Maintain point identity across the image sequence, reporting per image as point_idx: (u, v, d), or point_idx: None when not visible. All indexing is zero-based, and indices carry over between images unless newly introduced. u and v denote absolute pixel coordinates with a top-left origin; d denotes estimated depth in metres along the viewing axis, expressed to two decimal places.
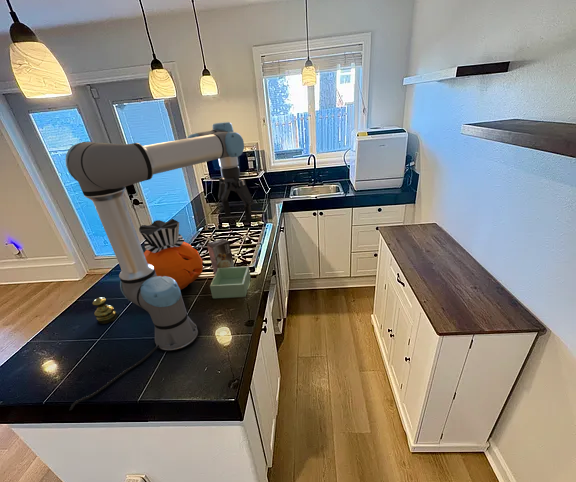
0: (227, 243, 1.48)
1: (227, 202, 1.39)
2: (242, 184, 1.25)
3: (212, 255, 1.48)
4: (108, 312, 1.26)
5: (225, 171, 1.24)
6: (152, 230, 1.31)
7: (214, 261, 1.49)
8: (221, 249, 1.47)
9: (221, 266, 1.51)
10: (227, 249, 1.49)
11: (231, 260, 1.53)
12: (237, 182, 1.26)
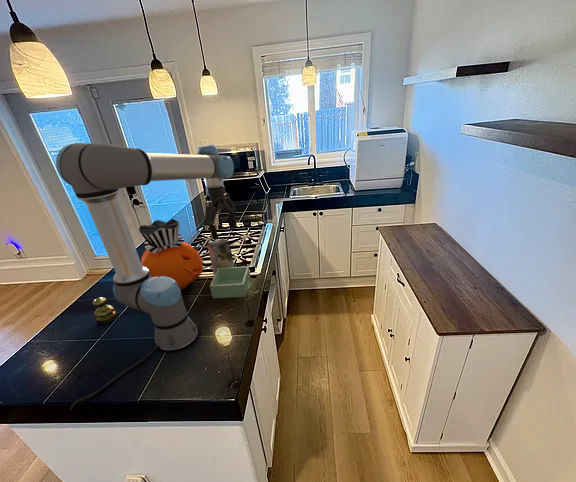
0: (227, 243, 1.48)
1: (231, 216, 1.45)
2: (206, 205, 1.31)
3: (212, 255, 1.48)
4: (108, 312, 1.26)
5: None
6: (152, 230, 1.31)
7: (214, 261, 1.49)
8: (221, 249, 1.47)
9: (221, 266, 1.51)
10: (227, 249, 1.49)
11: (231, 260, 1.53)
12: None
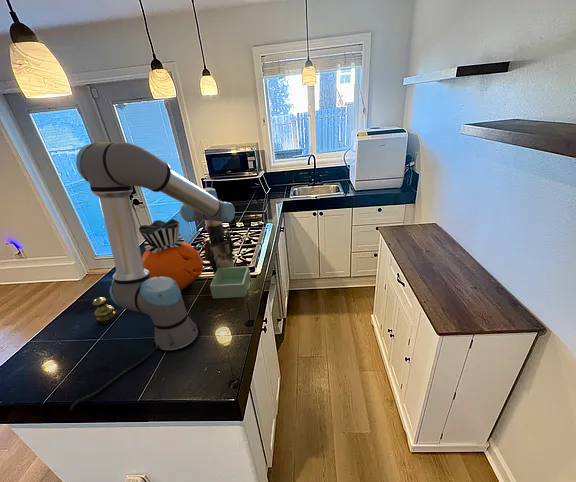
0: (227, 243, 1.48)
1: None
2: (204, 243, 1.43)
3: None
4: (108, 312, 1.26)
5: None
6: (152, 230, 1.31)
7: None
8: (221, 249, 1.47)
9: (221, 266, 1.51)
10: (227, 249, 1.49)
11: (231, 260, 1.53)
12: None
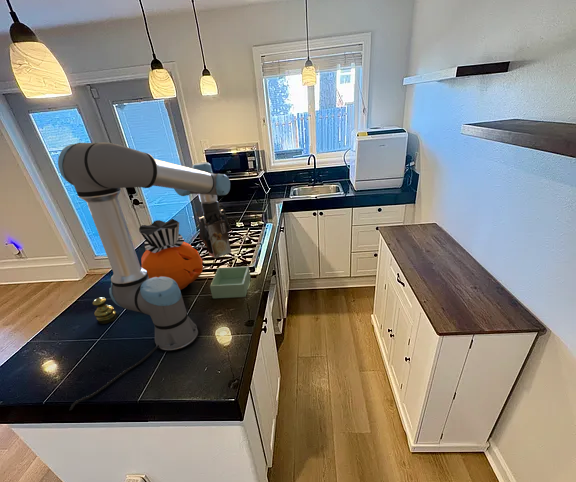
0: (223, 222, 1.42)
1: None
2: (199, 221, 1.37)
3: None
4: (108, 312, 1.26)
5: None
6: (152, 230, 1.31)
7: None
8: (216, 228, 1.41)
9: (216, 246, 1.45)
10: (222, 228, 1.43)
11: (227, 240, 1.47)
12: None
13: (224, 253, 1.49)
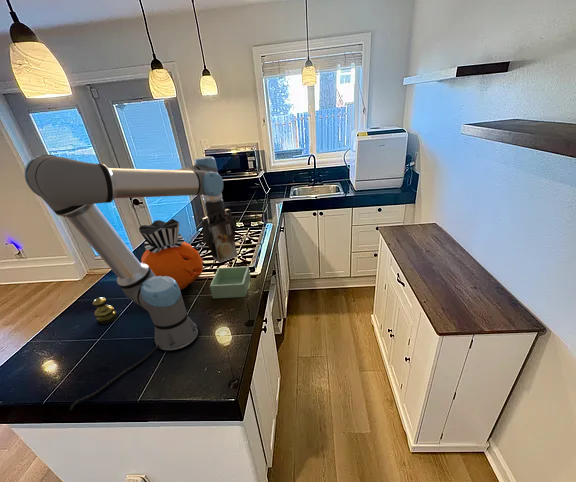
0: (228, 223, 1.28)
1: None
2: (202, 222, 1.24)
3: None
4: (108, 312, 1.26)
5: None
6: (152, 230, 1.31)
7: None
8: (221, 230, 1.28)
9: (221, 250, 1.31)
10: (228, 230, 1.29)
11: (233, 243, 1.33)
12: (207, 217, 1.25)
13: (230, 257, 1.35)
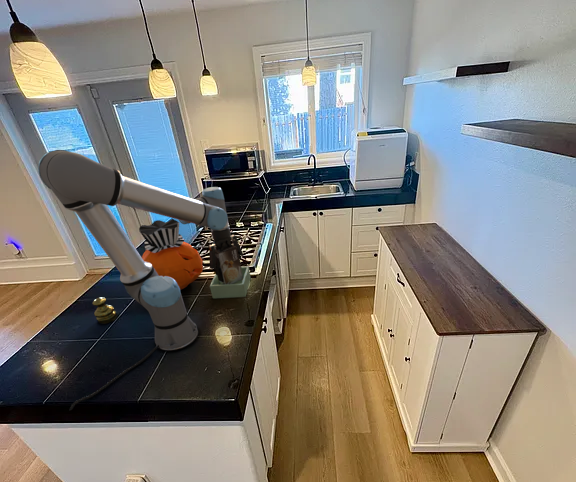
0: (234, 249, 1.32)
1: None
2: (209, 249, 1.28)
3: None
4: (108, 312, 1.26)
5: None
6: (152, 230, 1.31)
7: None
8: (228, 256, 1.32)
9: (228, 274, 1.35)
10: (234, 255, 1.33)
11: (239, 267, 1.37)
12: None
13: (236, 281, 1.39)
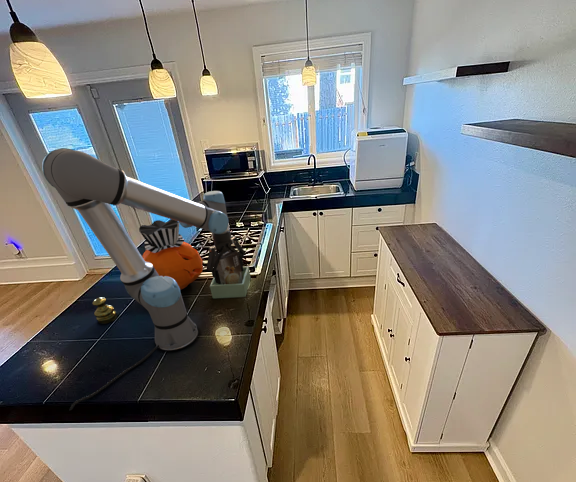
0: (236, 255, 1.34)
1: (239, 259, 1.40)
2: (209, 250, 1.28)
3: (219, 268, 1.34)
4: (108, 312, 1.26)
5: None
6: (152, 230, 1.31)
7: (221, 274, 1.35)
8: (229, 262, 1.33)
9: (229, 280, 1.37)
10: (235, 261, 1.35)
11: (240, 273, 1.39)
12: None
13: None
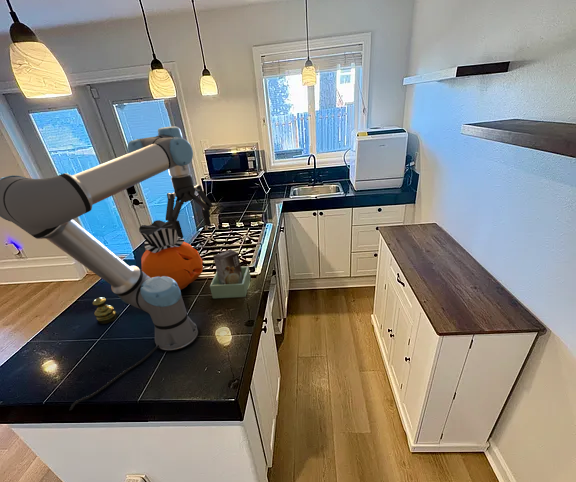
0: (236, 255, 1.34)
1: (205, 212, 1.26)
2: (168, 197, 1.14)
3: (219, 268, 1.34)
4: (108, 312, 1.26)
5: None
6: (152, 230, 1.31)
7: (221, 274, 1.35)
8: (229, 262, 1.33)
9: (229, 280, 1.37)
10: (235, 261, 1.35)
11: (240, 273, 1.39)
12: None
13: None
